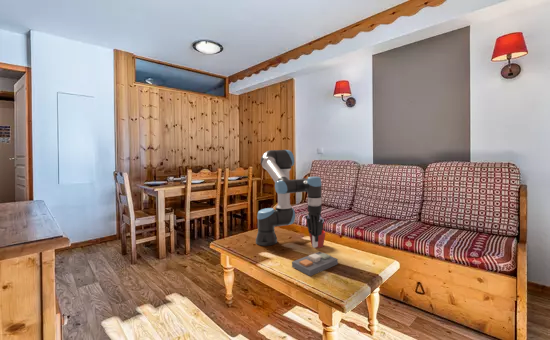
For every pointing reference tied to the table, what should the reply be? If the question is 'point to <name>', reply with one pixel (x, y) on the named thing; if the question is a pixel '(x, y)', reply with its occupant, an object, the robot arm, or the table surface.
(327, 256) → the sage button
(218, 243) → the table surface
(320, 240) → the flower pot
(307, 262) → the rust button
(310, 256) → the cream button
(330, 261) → the button panel
